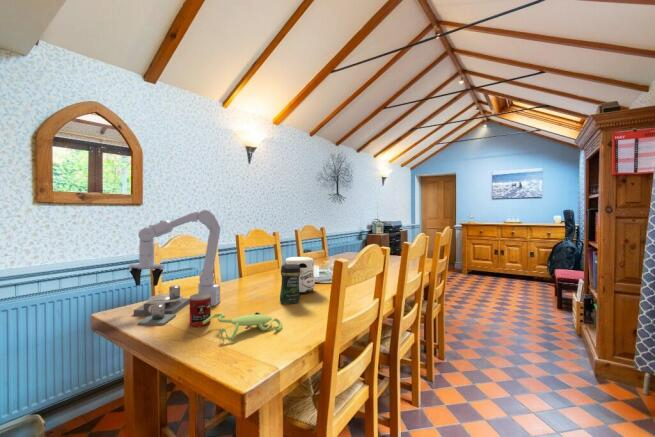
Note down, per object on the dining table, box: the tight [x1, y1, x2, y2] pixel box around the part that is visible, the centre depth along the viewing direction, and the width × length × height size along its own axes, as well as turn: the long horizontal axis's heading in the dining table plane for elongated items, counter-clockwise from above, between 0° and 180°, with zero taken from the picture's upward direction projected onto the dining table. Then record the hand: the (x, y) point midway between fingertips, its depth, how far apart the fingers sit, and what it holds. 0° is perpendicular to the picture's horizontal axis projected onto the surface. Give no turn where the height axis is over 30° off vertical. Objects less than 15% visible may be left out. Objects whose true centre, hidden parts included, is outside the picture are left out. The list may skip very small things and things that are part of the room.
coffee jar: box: [279, 263, 301, 305], centre depth 153 cm, size 10×8×19 cm
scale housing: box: [133, 297, 190, 316], centre depth 140 cm, size 16×18×5 cm
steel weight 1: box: [152, 304, 165, 320], centre depth 125 cm, size 4×4×5 cm
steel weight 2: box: [168, 285, 181, 299], centre depth 141 cm, size 4×4×5 cm
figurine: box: [203, 312, 283, 345], centre depth 118 cm, size 18×27×6 cm
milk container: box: [284, 256, 316, 294], centre depth 173 cm, size 17×17×18 cm
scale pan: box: [147, 293, 183, 303], centre depth 141 cm, size 14×14×1 cm
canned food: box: [189, 293, 212, 328], centre depth 122 cm, size 8×8×11 cm
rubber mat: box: [137, 313, 177, 326], centre depth 125 cm, size 10×10×1 cm
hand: (146, 285), depth 138 cm, fingers open, 7 cm apart
